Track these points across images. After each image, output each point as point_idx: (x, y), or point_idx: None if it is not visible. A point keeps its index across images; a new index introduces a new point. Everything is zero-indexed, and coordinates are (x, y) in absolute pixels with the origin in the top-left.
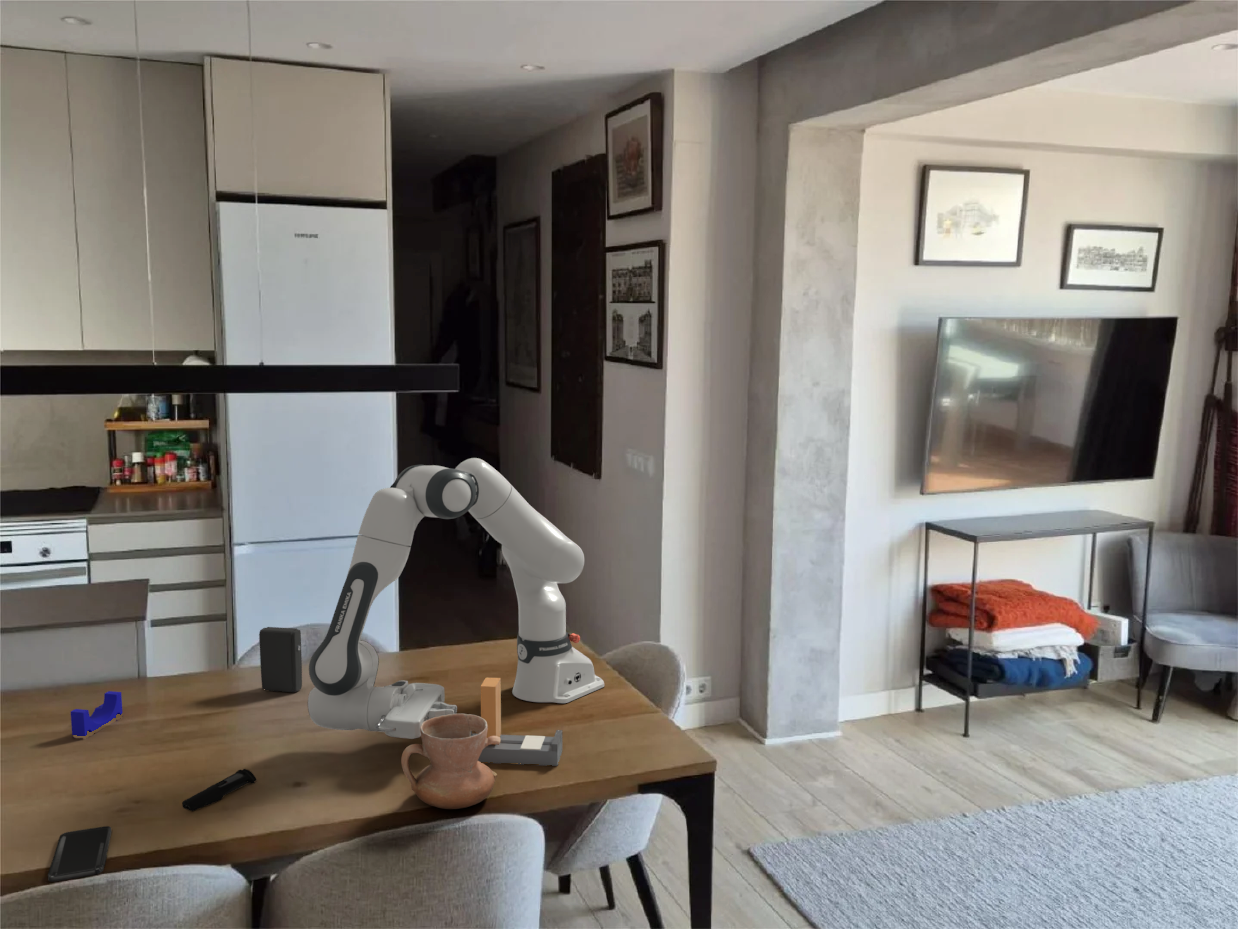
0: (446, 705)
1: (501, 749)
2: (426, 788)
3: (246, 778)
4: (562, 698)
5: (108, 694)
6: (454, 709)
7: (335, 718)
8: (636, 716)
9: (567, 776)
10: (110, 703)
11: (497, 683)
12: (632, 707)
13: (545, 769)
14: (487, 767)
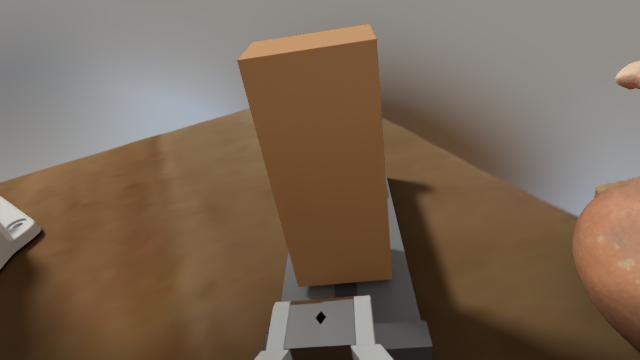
0: (283, 356)
1: (398, 231)
2: None
3: None
4: (27, 226)
5: None
6: (331, 298)
7: None
8: (165, 145)
9: (422, 158)
10: None
11: (323, 31)
12: (124, 154)
13: (403, 187)
14: (628, 182)
